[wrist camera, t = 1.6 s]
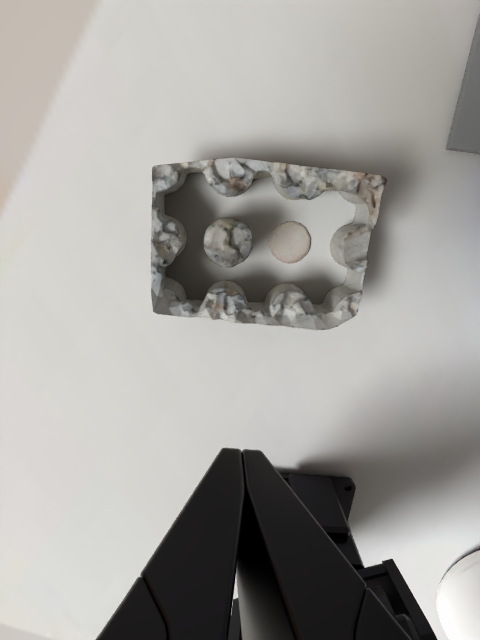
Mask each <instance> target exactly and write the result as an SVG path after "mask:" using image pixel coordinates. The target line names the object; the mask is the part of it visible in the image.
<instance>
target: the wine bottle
mask: <svg viewBox="0 0 480 640" xmlns="http://www.w3.org/2000/svg"><path fill="white" fill-rule="evenodd" d="M436 603H437V612H438V615H439V618H440V621H441V624H442V627H443V629H444V631H445V632H446V634H447V636H448V638H449V640H480V550H478V551H476V552H474V553H472V554H470V555H468V556H466V557H464V558H463V559H461V560H460V561H458V562H457V563H456V564H455V565H454V566H452V567H451V569H450V570H449V571H448V572H447V573H446V574H445V576H444V578H443V579H442V581H441V583H440V585H439V588H438V591H437V597H436Z"/></svg>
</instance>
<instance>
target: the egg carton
mask: <svg viewBox="0 0 480 640" xmlns="http://www.w3.org/2000/svg"><path fill="white" fill-rule="evenodd" d="M194 172H201V173H204V174H205V177H206V179H207V181H208V183H209V184H210V185H211V187H213V189H214V190H215V191H216V192H217V193H218V194H221V195H223V196H226V197H235V196H238V195H240V194H242V193H244V192H245V191H246V190H247V189H248V187H249V186H250V185H251V183H252V181H253V179H254V178H256V179H257V178H263V177H273V183H274V186H275V188H276V190H277V191H278V192H279V193H280V194H281V195H282V196H283V197H285V198H286V199H290V200H299V199H307V200H311V199H313V198H315V197H318V196H320V195H321V194H322V193H323V192H324V191H328V190H333V191H339V193H340V194H341V196H342V197H343V198H344V199H345V200H347V201H349V202H351V203H353V204H355V205H356V210H355V215H354V221H353V223H352V224H348V225H345V226H342V227H341V228H339V229H338V230H337V231H336V232H335V233H334V235H333V236H332V239H331V242H330V251H331V255H332V257H333V259H334V260H335V261H336V262H337V263H339V264H340V265H342V266H344V267H346V268H347V274H346V279H345V282H344V284H343V285H340V286H337V287H335V288H333V289H331V290H330V291H329V292H328V293H327V295H326V296H325V299H324V302H323V303H322V304H319V305H312V303H311V301H310V299H309V298H308V297H307V296H306V295H305V294H304V293H303V292H302V291H301V290H300V289H299V288H298V287H297V286H295V285H293V284H290V283H282V284H279V285H276V286H274V287H273V288H272V289H271V290H270V291H269V292H268V294H267V296H266V298H265V300H264V302H247V301H246V297H245V294H244V292H243V290H242V289H241V287H240V286H239V285H237V284H236V283H234V282H231V281H219V282H216V283H214V284H213V285H212V286H211V287H210V288H209V290H208V291H207V293H206V295H205V298H204V300H189V299H187V297H186V293H185V291H184V289H183V287H182V286H181V284H179V283H178V282H177V281H175V280H173V279H170V278H167V277H166V274H165V273H166V266H168V265H170V264H171V263H172V262H173V261H174V259H175V258H176V257H177V256H178V255H179V254H180V253H181V252H182V251H183V249H184V248H185V245H186V242H187V234H186V231H185V228H184V227H183V225H182V224H181V222H179V221H178V220H177V219H175V218H174V217H171V216H168V215H166V214H165V212H164V195H166V194H169V193H173V192H175V191H177V190H178V189H179V188H181V187H182V185H183V184H184V182H185V179H186V176H187V174H189V173H194ZM152 181H153V197H152V237H151V275H152V287H151V295H152V304H153V312H155V313H157V314H163V315H172V316H183V317H204V318H210V319H212V320H216V319H223V320H227V321H230V322H233V323H255V324H263V325H280V326H287V327H295V328H304V329H313V330H327V329H331V328H334V327H337V326H339V325H340V324H342V323H344V322H346V321H347V320H349V319H351V318H352V317H354V316H355V315H357V312H358V308H359V303H360V300H361V297H362V286H363V280H364V275H365V271H366V269H367V265H368V257H367V251H368V246H369V240H370V234H371V231H372V230H373V229H374V227H375V224H376V221H377V218H378V214H379V208H380V203H381V197H382V193H383V189H384V186H385V184H386V182H387V179H386V178H385V177H383V176H380V175H374V174H367V173H360V172H350V171H345V170H336V169H328V168H315V167H307V166H299V165H293V164H286V163H274V162H266V161H260V160H252V159H243V158H224V159H211V160H203V161H194V162H186V163H175V164H164V165H156V166H154V167H153V168H152ZM269 247H270V250H271V252H272V254H273V256H274V257H276V258H277V259H278V260H280V261H282V262H284V263H289V264H290V263H295V262H298V261H300V260H301V259H302V258H303V257H304V256H305V255H306V254H307V253H308V251H309V248H310V236H309V233H308V231H307V229H306V228H305V227H304V226H303V225H301V224H300V223H297V222H294V221H290V222H287V221H286V222H285V223H284V222H283V223H281V224H280V225H278V226H277V227H276V228H275V229H274V230H273V231H272V233H271V235H270V239H269ZM251 249H252V235H251V231H250V229H249V226H248V225H246V224H245V223H241V222H239V221H237V220H235V219H232V218H222V219H218V220H216V221H215V222H213V223H212V224H211V225H210V226H209V227H208V229H207V230H206V231H205V236H204V250H205V252H206V254H207V255H208V256H209V259H210V260H211V261H213V262H214V263H216V264H217V265H219V266H221V267H233V266H235V265H237V264H239V263H241V262H243V261H244V260H245V259H246V258H247V257H248V256H249V254H250V252H251Z"/></svg>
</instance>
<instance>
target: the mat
mask: <svg viewBox="0 0 480 640" xmlns="http://www.w3.org/2000/svg"><path fill="white" fill-rule="evenodd" d="M446 150H453V151H462V152H470V153H478V154H480V15H479V19H478V23H477V27H476V31H475V35H474V39H473V43H472V47H471V51H470V55H469V59H468V63H467V67H466V71H465V75H464V79H463V83H462V87H461V91H460V95H459V99H458V103H457V107H456V111H455V115H454V119H453V123H452V127H451V131H450V135H449V139H448V143H447V147H446Z"/></svg>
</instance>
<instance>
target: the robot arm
mask: <svg viewBox="0 0 480 640" xmlns="http://www.w3.org/2000/svg"><path fill="white" fill-rule="evenodd" d="M346 485H349V486H347V487H345V486H346ZM354 492H355V484H354V482H353V480H352V479H351V478H346V477H331V476H317V475H302V474H287V473H278V471H277V470H276V469H275V468H274V466H273V465H272V464H271V463H270V461H269V460H268V459H267V457H266V456H265V455H264V454H263V452H261V451H260V450H248V449H244V450H243V451H242V452H241V450H240V449H234V448H222V449H221V451H220V452H219V454H218V455H217V457H216V458H215V460H214V461H213V463H212V464H211V466H210V467H209V469H208V471H207V472H206V474H205V475H204V477H203V478H202V480H201V481H200V483H199V484H198V486H197V487H196V489H195V491H194V492H193V494H192V495H191V497H190V498H189V500H188V501H187V503H186V504H185V506H184V508H183V509H182V511H181V512H180V514H179V515H178V517H177V518H176V520H175V521H174V523H173V524H172V526H171V528H170V529H169V531H168V532H167V534H166V535H165V537H164V538H163V540H162V541H161V543H160V545H159V546H158V548H157V549H156V551H155V552H154V554H153V555H152V557H151V558H150V560H149V561H148V563H147V565H146V566H145V568H144V569H143V571H142V572H141V577H138V578H137V580H136V581H135V583H134V584H133V586H132V587H131V589H130V590H129V592H128V593H127V595H126V596H125V598H124V600H123V601H122V602H121V604H120V605H119V607H118V608H117V610H116V611H115V613H114V614H113V615H112V617H111V618H110V620H109V621H108V623H107V624H106V626H105V627H104V629H103V630H102V631H101V633H100V634H99V636H98V637H97V638H96V640H437V638H436V636H435V634H434V632H433V630H432V628H431V626H430V624H429V622H428V621H427V619H426V617H425V615H424V614H423V612H422V610H421V608H420V606H419V605H418V603H417V601H416V599H415V598H414V596H413V594H412V592H411V591H410V589H409V587H408V585H407V584H406V582H405V580H404V578H403V577H402V575H401V573H400V571H399V569H398V568H397V566H396V564H395V562H394V561H393V559H389V560H385V561H382V564H378V565H374V566H370V567H366V568H364V565H363V562H362V560H361V557H360V555H359V552H358V549H357V547H356V544H355V542H354V539H353V536H352V534H351V531H350V528H349V525H348V522H347V521H348V517H349V513H350V509H351V505H352V501H353V496H354ZM236 574H237V587H238V598H236V599H233V593H234V584H235V576H236ZM232 601H233V606H232ZM231 609H232V614H231Z"/></svg>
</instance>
